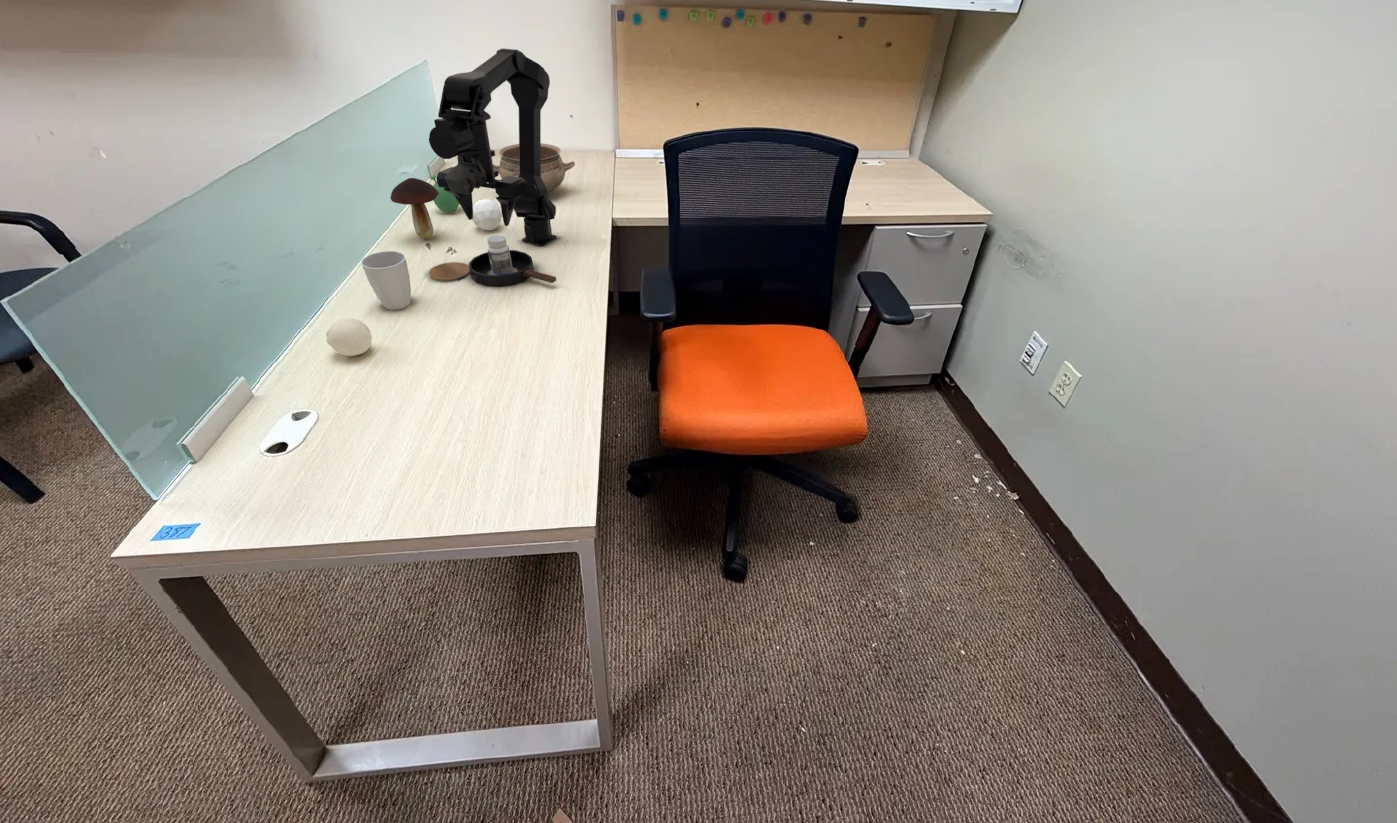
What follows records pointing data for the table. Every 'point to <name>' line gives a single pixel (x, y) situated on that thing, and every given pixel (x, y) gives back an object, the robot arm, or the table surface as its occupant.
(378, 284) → the cup
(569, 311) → the table surface
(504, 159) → the cooking pot
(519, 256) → the pan
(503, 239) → the pill bottle
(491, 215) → the ball
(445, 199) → the alien toy
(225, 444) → the table surface
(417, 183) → the decorative mushroom
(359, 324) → the cream oval shape
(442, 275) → the disc
